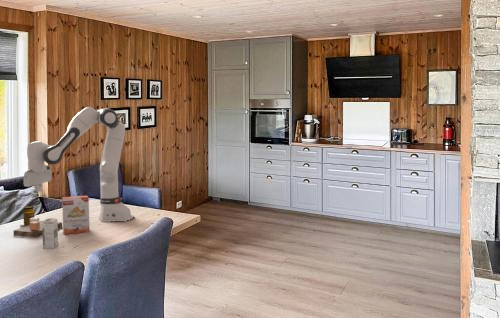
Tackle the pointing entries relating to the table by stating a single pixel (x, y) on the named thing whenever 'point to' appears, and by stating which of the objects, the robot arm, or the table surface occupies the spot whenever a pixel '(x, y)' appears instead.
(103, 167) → the robot arm
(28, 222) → the condiment
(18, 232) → the console
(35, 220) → the white fader
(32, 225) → the orange fader
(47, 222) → the syrup box
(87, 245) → the table surface
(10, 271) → the table surface
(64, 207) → the cracker box
